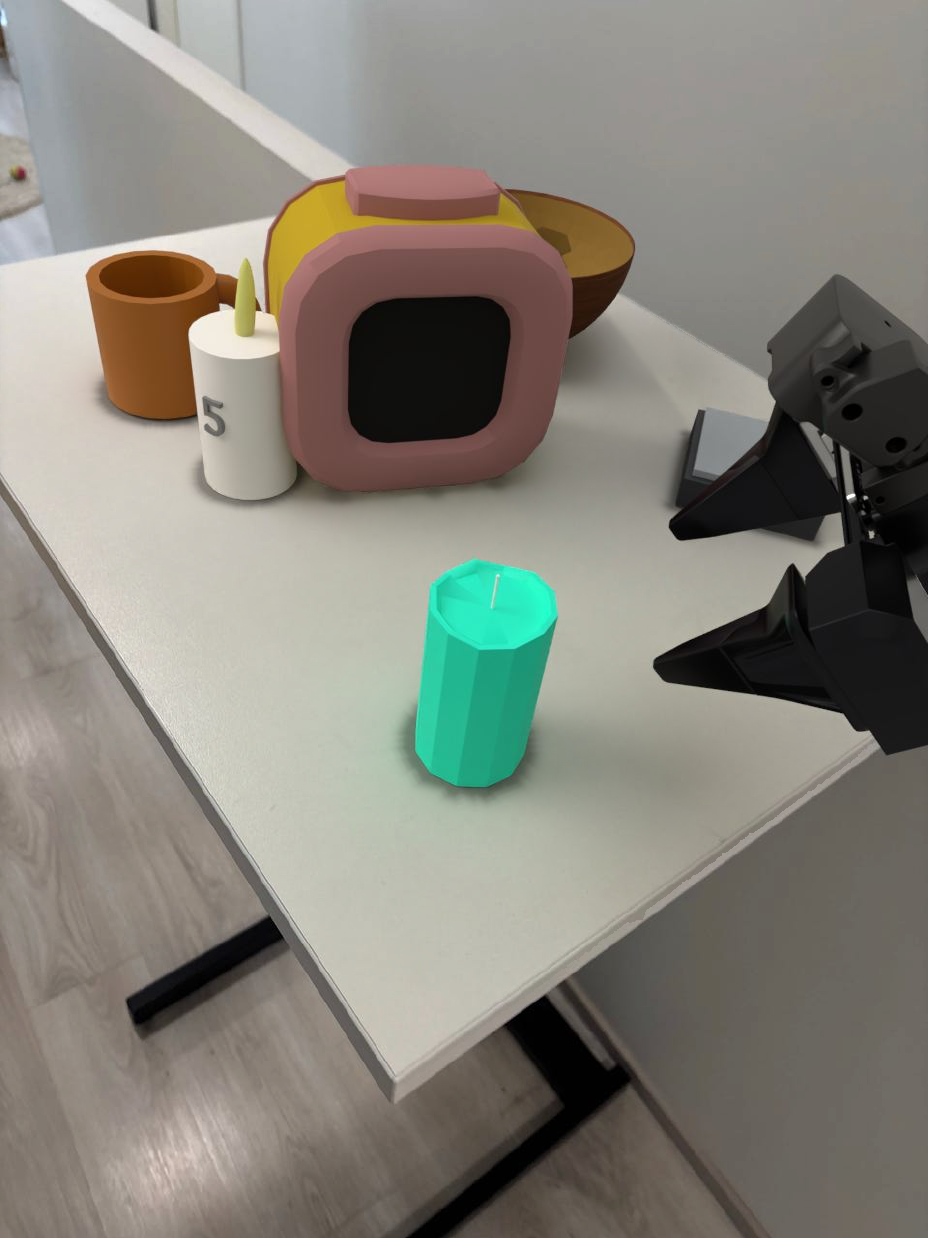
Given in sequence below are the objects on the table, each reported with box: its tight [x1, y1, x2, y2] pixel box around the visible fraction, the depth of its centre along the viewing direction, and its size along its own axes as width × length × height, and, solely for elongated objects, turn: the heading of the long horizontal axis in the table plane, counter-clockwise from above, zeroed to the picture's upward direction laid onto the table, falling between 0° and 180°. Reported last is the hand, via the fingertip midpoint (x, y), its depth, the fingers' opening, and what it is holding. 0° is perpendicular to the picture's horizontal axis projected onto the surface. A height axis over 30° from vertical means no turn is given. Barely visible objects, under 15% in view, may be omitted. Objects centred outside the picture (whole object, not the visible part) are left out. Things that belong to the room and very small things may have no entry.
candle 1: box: [189, 257, 298, 501], centre depth 58 cm, size 6×6×15 cm
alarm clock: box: [262, 164, 573, 494], centre depth 61 cm, size 18×11×19 cm, turn 105°
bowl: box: [503, 188, 636, 341], centre depth 78 cm, size 18×18×10 cm
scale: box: [674, 406, 826, 542], centre depth 68 cm, size 10×10×3 cm
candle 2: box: [414, 558, 559, 788], centre depth 45 cm, size 6×6×12 cm
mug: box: [84, 249, 263, 420], centre depth 67 cm, size 9×12×9 cm
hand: (665, 595), depth 39 cm, fingers open, 9 cm apart
